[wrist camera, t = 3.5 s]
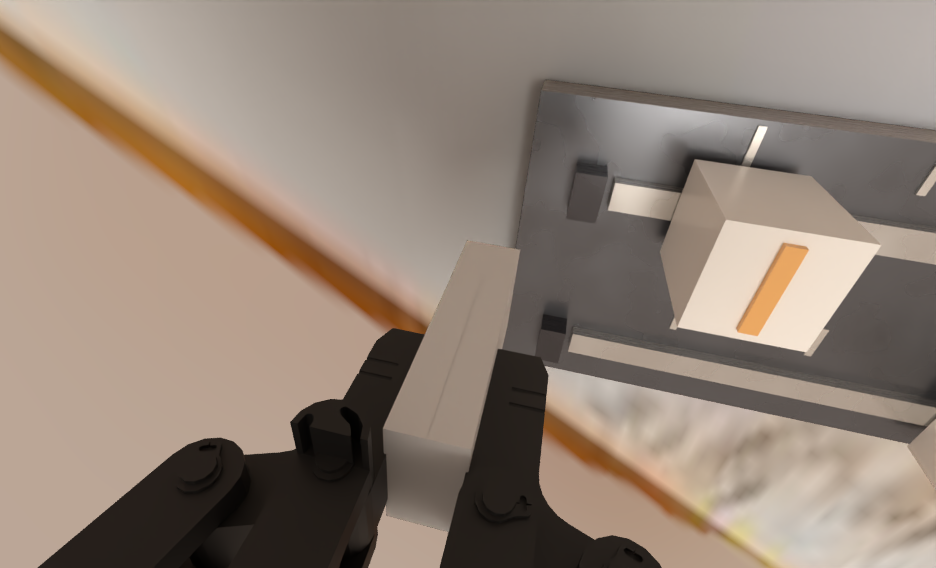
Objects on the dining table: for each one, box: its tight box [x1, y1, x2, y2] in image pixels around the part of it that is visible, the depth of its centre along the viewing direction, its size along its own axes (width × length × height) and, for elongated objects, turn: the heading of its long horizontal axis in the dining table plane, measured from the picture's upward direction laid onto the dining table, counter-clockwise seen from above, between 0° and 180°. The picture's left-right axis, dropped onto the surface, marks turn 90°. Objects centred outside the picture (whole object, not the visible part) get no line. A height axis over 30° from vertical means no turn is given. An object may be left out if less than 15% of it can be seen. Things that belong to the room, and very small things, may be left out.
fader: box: [660, 159, 881, 352], centre depth 16 cm, size 4×4×5 cm
